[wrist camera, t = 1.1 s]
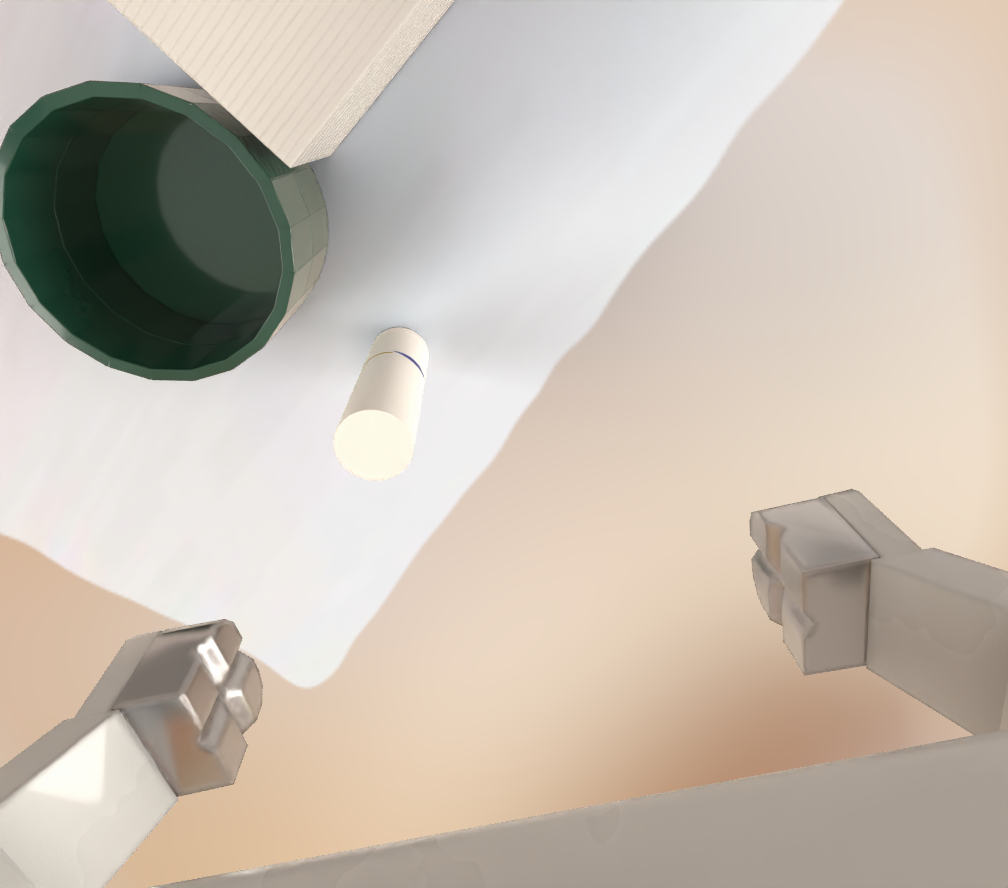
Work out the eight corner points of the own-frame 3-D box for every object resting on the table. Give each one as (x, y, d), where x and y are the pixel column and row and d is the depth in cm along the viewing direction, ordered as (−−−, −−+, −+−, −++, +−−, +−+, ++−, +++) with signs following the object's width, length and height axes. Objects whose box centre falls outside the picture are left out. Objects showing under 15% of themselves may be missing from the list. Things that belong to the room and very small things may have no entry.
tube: (372, 381, 50) (336, 480, 36) (369, 326, 48) (330, 409, 34) (429, 382, 50) (414, 481, 37) (428, 327, 48) (412, 410, 35)
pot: (102, 47, 40) (-6, 27, 31) (353, 144, 42) (322, 152, 34) (80, 288, 46) (-15, 330, 37) (300, 358, 49) (262, 413, 40)
